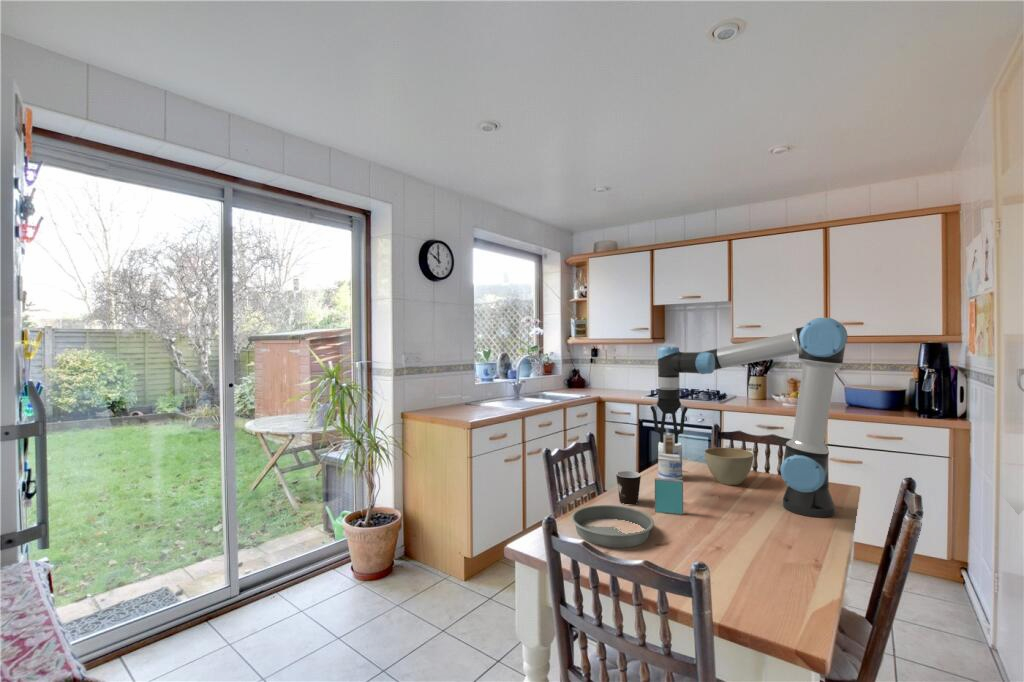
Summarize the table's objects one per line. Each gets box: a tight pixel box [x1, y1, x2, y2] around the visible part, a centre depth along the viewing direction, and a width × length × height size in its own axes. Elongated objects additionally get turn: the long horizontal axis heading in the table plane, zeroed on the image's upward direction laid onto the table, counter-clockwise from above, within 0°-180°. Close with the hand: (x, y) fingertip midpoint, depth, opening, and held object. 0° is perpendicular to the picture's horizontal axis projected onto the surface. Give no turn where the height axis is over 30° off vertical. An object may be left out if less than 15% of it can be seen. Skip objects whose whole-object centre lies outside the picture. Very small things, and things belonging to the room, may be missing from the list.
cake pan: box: [570, 504, 655, 548], centre depth 146 cm, size 25×25×4 cm
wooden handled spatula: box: [657, 434, 680, 462], centre depth 175 cm, size 20×7×5 cm, turn 162°
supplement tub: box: [657, 441, 683, 480], centre depth 200 cm, size 10×10×15 cm
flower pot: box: [704, 447, 754, 486], centre depth 193 cm, size 18×18×12 cm
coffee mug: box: [615, 470, 642, 505], centre depth 173 cm, size 12×9×10 cm
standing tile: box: [654, 477, 684, 515], centre depth 161 cm, size 2×9×11 cm, turn 71°
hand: (669, 451), depth 177 cm, fingers closed on wooden handled spatula, 2 cm apart
